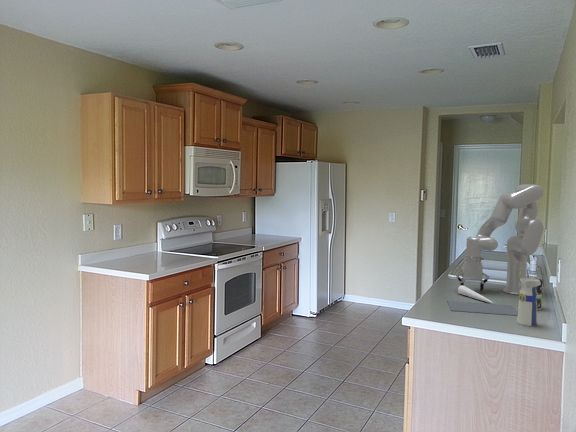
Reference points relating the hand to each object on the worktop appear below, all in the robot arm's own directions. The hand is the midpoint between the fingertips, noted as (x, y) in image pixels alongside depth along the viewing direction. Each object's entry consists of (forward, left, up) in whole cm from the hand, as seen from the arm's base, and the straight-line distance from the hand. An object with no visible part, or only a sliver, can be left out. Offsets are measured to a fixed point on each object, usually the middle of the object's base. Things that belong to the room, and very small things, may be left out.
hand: (471, 290), depth 253 cm
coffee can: (-23, +24, -2) cm, 33 cm away
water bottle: (-15, +52, -2) cm, 54 cm away
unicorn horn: (0, +13, -2) cm, 13 cm away
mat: (0, +32, -2) cm, 32 cm away
